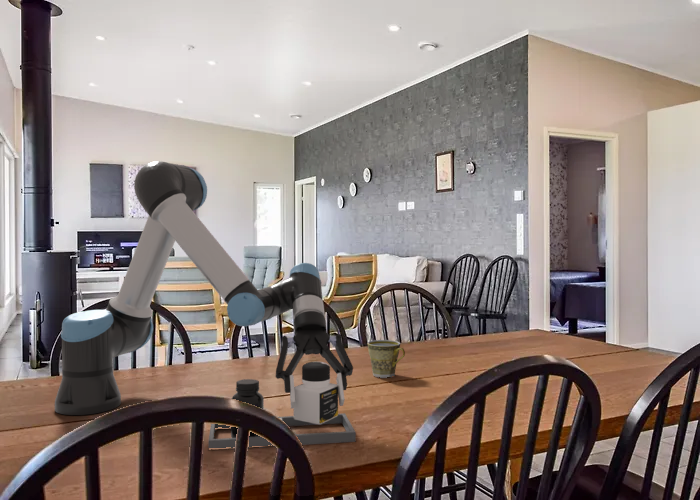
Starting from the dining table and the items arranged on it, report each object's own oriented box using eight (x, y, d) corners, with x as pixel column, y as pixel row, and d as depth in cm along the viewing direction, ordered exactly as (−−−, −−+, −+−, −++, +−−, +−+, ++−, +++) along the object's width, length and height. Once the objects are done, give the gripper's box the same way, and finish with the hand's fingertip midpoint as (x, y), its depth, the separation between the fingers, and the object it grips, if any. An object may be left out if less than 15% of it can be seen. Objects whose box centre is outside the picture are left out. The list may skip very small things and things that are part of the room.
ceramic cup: (360, 375, 182) (360, 342, 181) (381, 370, 189) (381, 338, 189) (393, 383, 173) (394, 348, 172) (414, 376, 180) (414, 344, 180)
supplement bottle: (256, 444, 123) (256, 386, 123) (225, 441, 124) (225, 384, 124) (268, 433, 130) (267, 378, 129) (238, 430, 131) (238, 376, 131)
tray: (208, 450, 119) (208, 440, 119) (211, 429, 132) (211, 420, 132) (355, 441, 125) (355, 432, 125) (344, 421, 138) (344, 413, 137)
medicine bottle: (320, 425, 125) (320, 368, 124) (292, 419, 128) (292, 364, 128) (338, 416, 131) (338, 362, 130) (312, 411, 135) (312, 358, 134)
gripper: (353, 327, 146) (366, 409, 131) (261, 329, 142) (264, 415, 127) (357, 308, 141) (372, 392, 126) (262, 310, 137) (265, 397, 122)
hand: (317, 403), depth 126 cm, fingers closed on medicine bottle, 10 cm apart
